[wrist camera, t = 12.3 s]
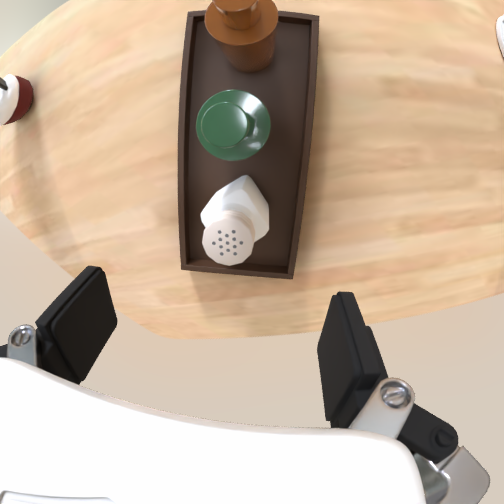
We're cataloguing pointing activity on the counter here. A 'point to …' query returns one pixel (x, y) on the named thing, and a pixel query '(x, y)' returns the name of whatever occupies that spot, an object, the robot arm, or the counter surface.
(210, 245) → the salt shaker
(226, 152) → the green bottle
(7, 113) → the cocoa
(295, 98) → the tray
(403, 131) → the counter surface
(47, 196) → the counter surface
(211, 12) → the amber bottle
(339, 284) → the counter surface
